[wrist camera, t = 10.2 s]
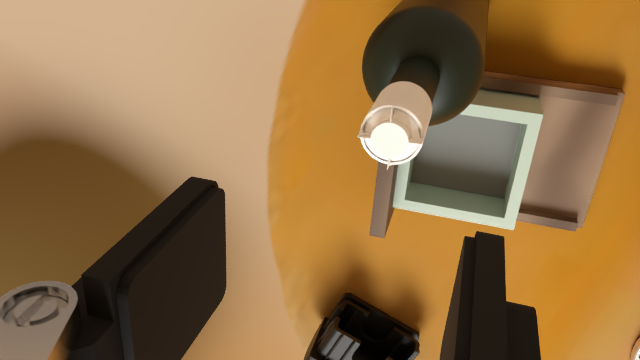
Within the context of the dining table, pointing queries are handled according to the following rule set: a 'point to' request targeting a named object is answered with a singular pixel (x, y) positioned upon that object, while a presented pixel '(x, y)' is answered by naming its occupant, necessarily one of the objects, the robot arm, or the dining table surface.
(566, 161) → the rail board
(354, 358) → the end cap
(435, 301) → the dining table surface
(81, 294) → the robot arm
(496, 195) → the socket block
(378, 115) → the wine bottle
